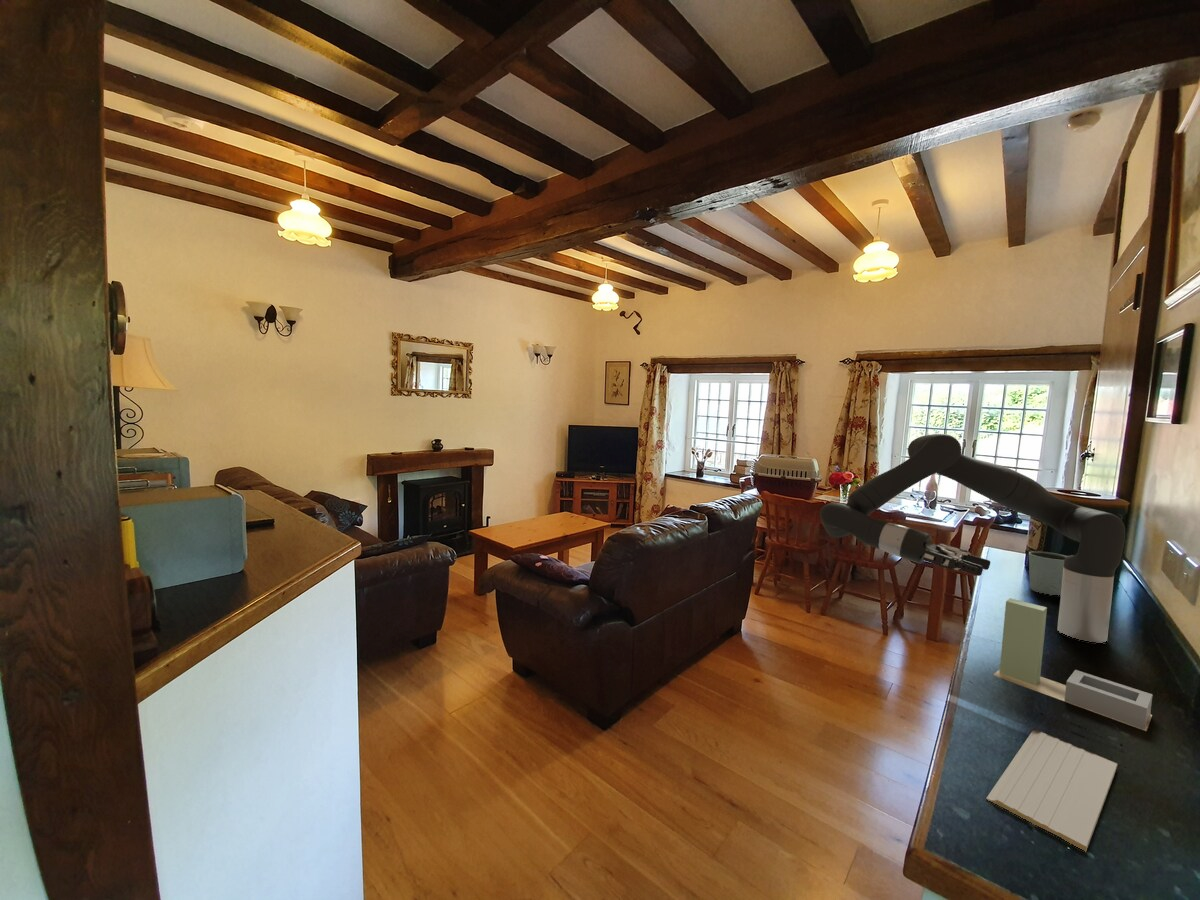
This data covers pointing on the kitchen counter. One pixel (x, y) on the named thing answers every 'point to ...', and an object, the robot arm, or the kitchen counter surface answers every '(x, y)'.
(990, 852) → the kitchen counter surface
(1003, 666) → the slat
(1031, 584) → the grey-green pot
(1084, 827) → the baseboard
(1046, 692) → the board
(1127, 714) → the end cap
